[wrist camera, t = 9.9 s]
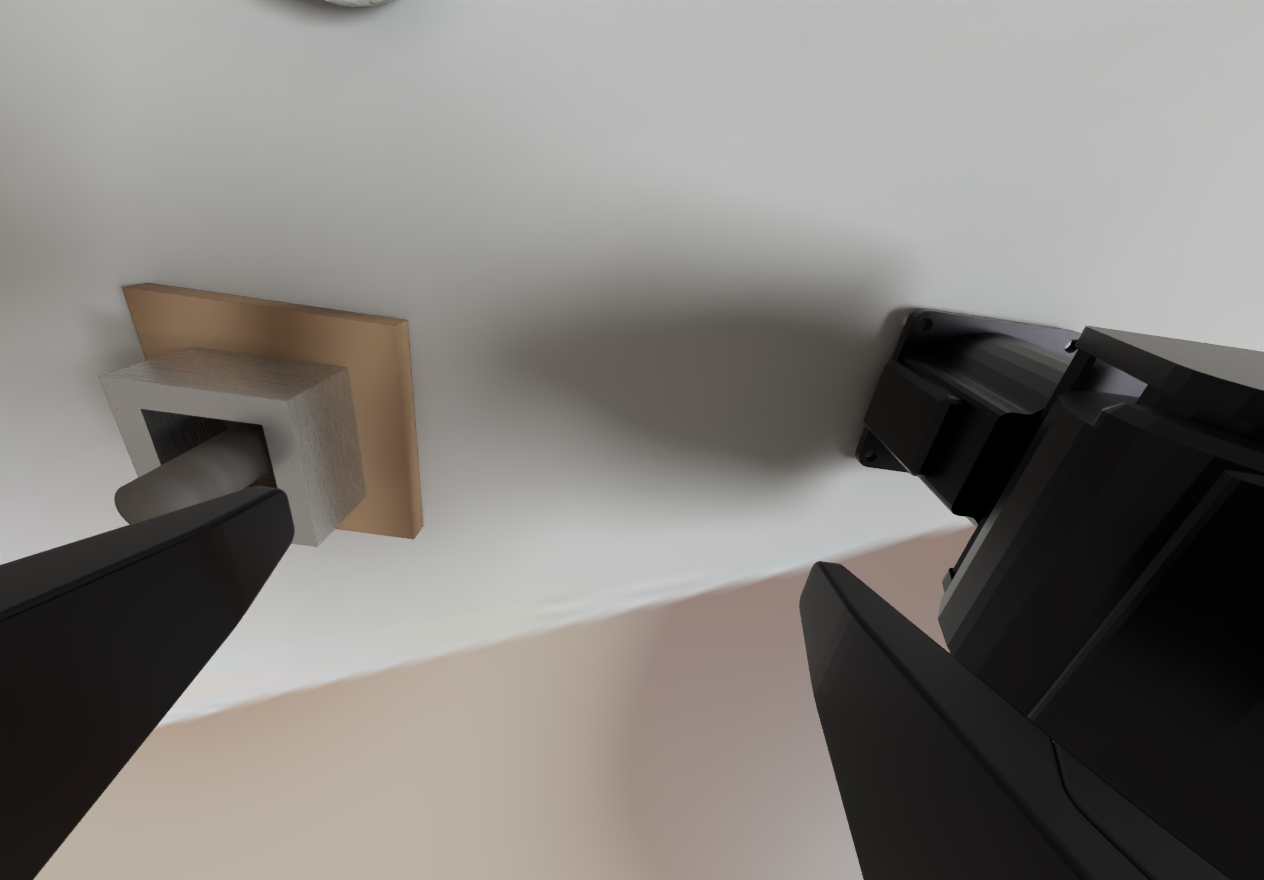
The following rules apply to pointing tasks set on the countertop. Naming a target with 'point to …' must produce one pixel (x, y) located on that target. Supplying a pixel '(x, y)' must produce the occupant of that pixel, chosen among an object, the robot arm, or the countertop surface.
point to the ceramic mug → (359, 2)
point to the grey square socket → (252, 393)
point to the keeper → (242, 450)
